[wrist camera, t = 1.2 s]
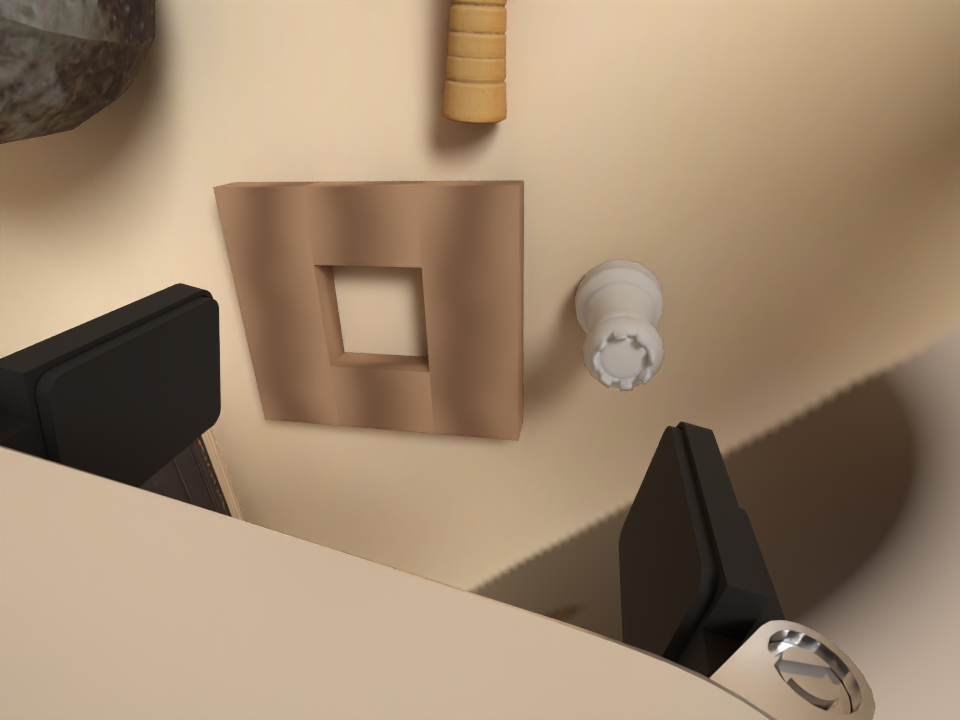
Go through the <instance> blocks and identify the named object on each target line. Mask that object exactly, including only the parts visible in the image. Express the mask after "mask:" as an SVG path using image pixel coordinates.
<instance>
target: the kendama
mask: <svg viewBox="0 0 960 720" xmlns="http://www.w3.org/2000/svg"><path fill="white" fill-rule="evenodd" d="M506 1H507V0H451V2H452V5H451V6H450V19H449V28H450V32H449V34H448V49H447V53H448V55H447V63H446V76H447V79H446V80H445V88H444V97H443V108H442V115H443V116H444V117H445V118H447V119H449V120H452V121H457V122H462V123H473V124H488V123H496V122H500V121H502V120H504V119H506V114H507V110H506V83H505V82H504V80H505V78H506V59H505V56H506V35H505V32H506V8H505V7H504V6H505V5H506Z"/></svg>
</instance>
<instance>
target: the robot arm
mask: <svg viewBox="0 0 960 720" xmlns="http://www.w3.org/2000/svg"><path fill="white" fill-rule="evenodd" d="M220 410H221V397H220V339H219V305H218V303H217V301H216V300H214V299H213V297H212V295H211V293H210V292H209V291H207V290H203V289H200V288H196V287H192V286H189V285H185V284H181V283H179V284H175V285H173V286H171V287H168V288H166V289H164V290H161V291H159V292H156V293H154V294H152V295H149V296H147V297H145V298H142V299H140V300H138V301H135V302H133V303H131V304H128V305H126V306H124V307H121V308H119V309H116V310H114V311H112V312H109V313H107V314H105V315H102V316H100V317H98V318H95V319H93V320H91V321H88V322H86V323H84V324H81V325H79V326H76V327H74V328H72V329H69V330H67V331H65V332H62V333H60V334H58V335H55V336H53V337H51V338H48V339H46V340H44V341H41V342H39V343H36V344H34V345H32V346H29V347H27V348H25V349H22V350H20V351H18V352H15V353H13V354H11V355H8V356H6V357H3V358H1V359H0V720H872V719H873V715H874V710H875V703H874V698H873V694H872V690H871V688H870V687H869V685H868V683H867V681H866V679H865V677H864V675H863V674H862V673H861V671H860V670H859V669H858V668H857V666H856V665H855V664H854V663H853V662H852V660H851V659H850V658H849V657H848V656H847V655H846V654H845V653H843V651H842V650H840V649H839V648H838V647H837V646H836V645H835V644H834V643H832V642H831V641H829V640H828V639H826V638H825V637H823V636H822V635H820V634H819V633H818V632H816V631H814V630H812V629H809V628H807V627H805V626H803V625H801V624H798V623H793V622H789V621H786V620H785V618H784V615H783V612H782V609H781V607H780V604H779V601H778V599H777V595H776V593H775V590H774V587H773V584H772V582H771V579H770V576H769V573H768V570H767V568H766V565H765V562H764V560H763V557H762V554H761V551H760V548H759V546H758V543H757V540H756V537H755V534H754V532H753V529H752V526H751V524H750V521H749V518H748V516H747V514H746V512H745V510H743V509H741V508H739V505H738V502H737V500H736V497H735V494H734V491H733V488H732V485H731V483H730V479H729V477H728V474H727V471H726V468H725V465H724V462H723V459H722V456H721V454H720V451H719V448H718V445H717V442H716V439H715V436H714V433H713V432H712V430H710V429H707V428H703V427H699V426H696V425H692V424H688V423H685V422H680V423H679V424H678V425H677V426H676V428H675V427H672V426H668V427H667V428H666V429H665V431H664V433H663V435H662V438H661V440H660V442H659V445H658V447H657V449H656V452H655V454H654V456H653V458H652V461H651V463H650V465H649V468H648V470H647V472H646V475H645V477H644V479H643V482H642V484H641V486H640V489H639V491H638V493H637V495H636V498H635V500H634V502H633V505H632V507H631V509H630V512H629V514H628V516H627V519H626V521H625V523H624V526H623V528H622V531H621V534H620V539H619V563H620V584H621V608H622V629H623V643H622V642H619V641H616V640H614V639H611V638H608V637H605V636H602V635H600V634H597V633H594V632H591V631H588V630H585V629H583V628H580V627H577V626H574V625H571V624H568V623H565V622H562V621H559V620H555V619H552V618H549V617H546V616H543V615H540V614H537V613H533V612H530V611H527V610H524V609H521V608H518V607H514V606H511V605H508V604H505V603H502V602H499V601H496V600H493V599H490V598H486V597H483V596H480V595H477V594H474V593H471V592H468V591H465V590H462V589H458V588H455V587H452V586H449V585H446V584H443V583H440V582H436V581H433V580H430V579H427V578H424V577H421V576H418V575H415V574H411V573H408V572H405V571H402V570H399V569H395V568H392V567H389V566H386V565H383V564H379V563H376V562H373V561H370V560H367V559H364V558H360V557H357V556H354V555H351V554H348V553H344V552H341V551H338V550H335V549H332V548H328V547H325V546H322V545H319V544H316V543H312V542H309V541H306V540H303V539H300V538H296V537H293V536H290V535H287V534H284V533H280V532H277V531H274V530H271V529H268V528H265V527H261V526H258V525H255V524H252V523H249V522H245V521H242V520H239V519H236V518H233V517H229V516H226V515H223V514H220V513H217V512H214V511H210V510H207V509H204V508H201V507H198V506H194V505H191V504H188V503H185V502H182V501H179V500H175V499H172V498H169V497H166V496H163V495H159V494H156V493H153V492H150V491H147V490H144V489H140V488H139V487H140V486H141V485H142V484H143V483H145V482H146V481H147V480H148V479H149V478H151V477H152V476H153V475H154V474H155V473H157V472H158V471H159V470H160V469H161V468H163V467H164V466H165V465H166V464H168V463H169V462H170V461H171V460H172V459H174V458H175V457H176V456H177V455H178V454H180V453H181V452H182V451H183V450H184V449H186V448H187V447H188V446H189V445H190V444H192V443H193V442H194V441H195V440H196V439H198V438H199V437H200V436H201V435H202V434H204V433H205V432H206V431H207V430H208V429H210V428H211V427H212V426H213V425H214V424H215V423H216V421H217V420H218V417H219V415H220Z"/></svg>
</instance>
